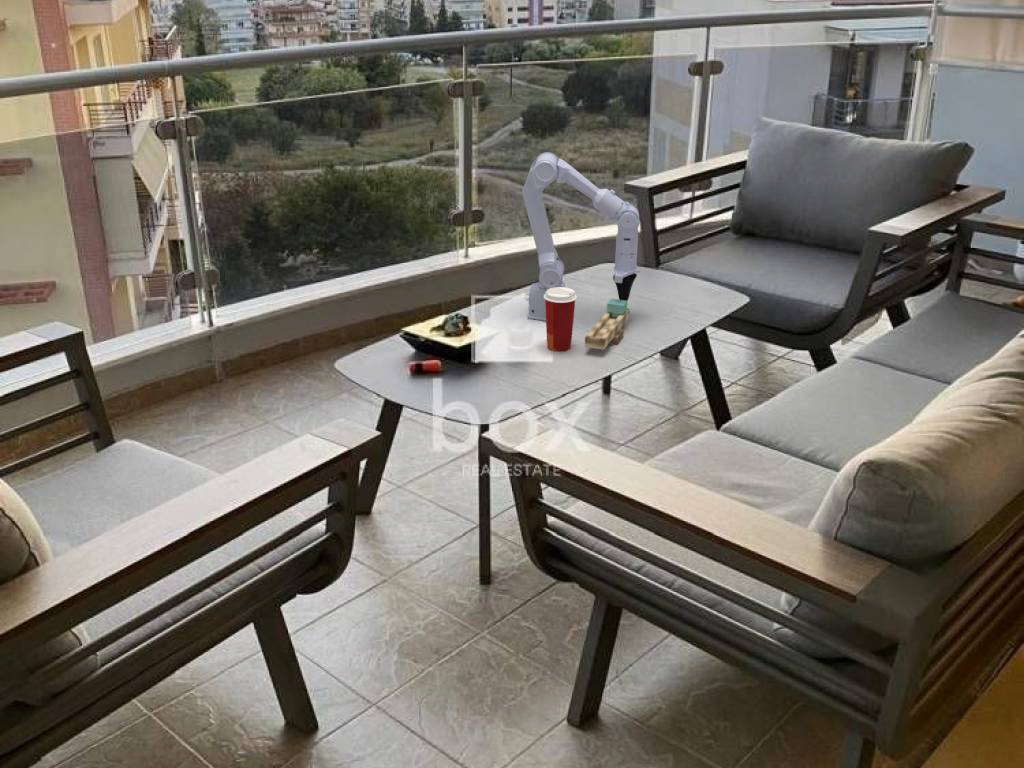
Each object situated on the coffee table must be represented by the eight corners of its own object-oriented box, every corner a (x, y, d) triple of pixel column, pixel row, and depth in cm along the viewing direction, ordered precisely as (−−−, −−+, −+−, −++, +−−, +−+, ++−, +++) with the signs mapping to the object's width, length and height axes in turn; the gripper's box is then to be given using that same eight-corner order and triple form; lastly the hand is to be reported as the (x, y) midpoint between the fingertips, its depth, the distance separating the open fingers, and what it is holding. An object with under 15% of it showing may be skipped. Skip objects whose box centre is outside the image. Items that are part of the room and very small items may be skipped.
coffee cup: (580, 345, 260) (582, 289, 253) (565, 355, 253) (567, 299, 247) (551, 338, 263) (553, 284, 257) (536, 349, 257) (537, 293, 251)
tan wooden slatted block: (607, 357, 252) (608, 340, 250) (580, 353, 255) (581, 336, 253) (632, 325, 273) (633, 309, 271) (607, 321, 275) (607, 305, 273)
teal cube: (622, 319, 267) (623, 305, 265) (606, 316, 268) (607, 303, 267) (626, 314, 270) (627, 300, 269) (610, 312, 272) (611, 298, 270)
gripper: (634, 261, 261) (631, 310, 267) (647, 246, 273) (644, 293, 279) (607, 258, 263) (605, 307, 269) (622, 243, 276) (619, 290, 281)
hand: (623, 300), depth 274 cm, fingers closed
